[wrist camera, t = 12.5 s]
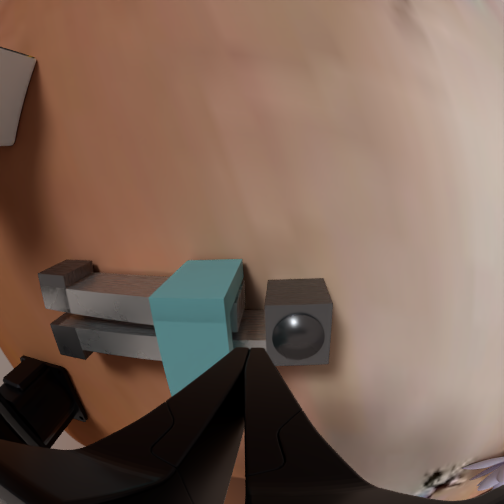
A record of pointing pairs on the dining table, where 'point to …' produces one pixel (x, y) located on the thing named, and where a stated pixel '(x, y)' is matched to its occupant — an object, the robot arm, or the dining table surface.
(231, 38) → the dining table surface
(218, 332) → the teal notched block
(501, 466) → the purple flower
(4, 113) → the medicine bottle
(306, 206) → the dining table surface
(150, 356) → the tong frame
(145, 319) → the tong arm
